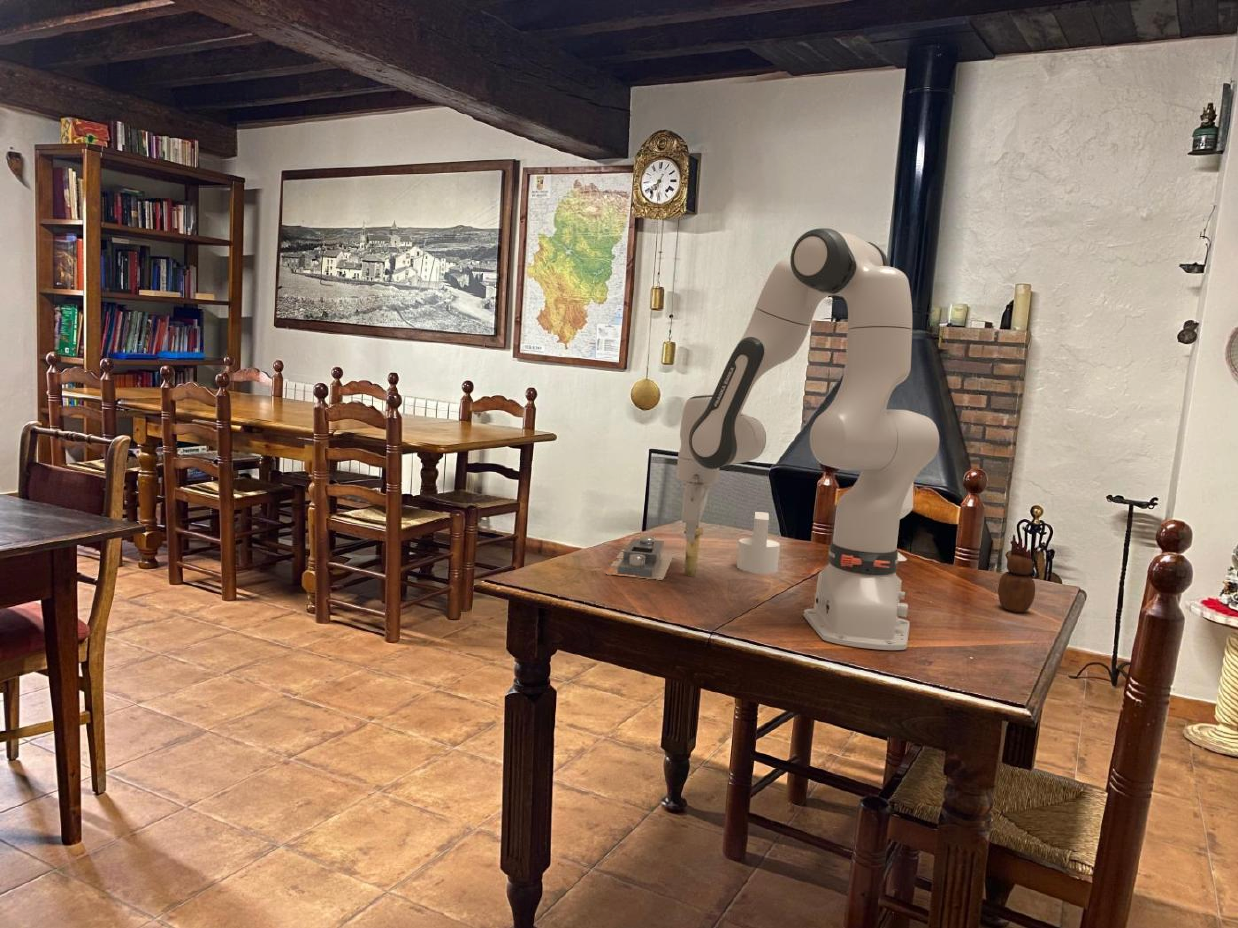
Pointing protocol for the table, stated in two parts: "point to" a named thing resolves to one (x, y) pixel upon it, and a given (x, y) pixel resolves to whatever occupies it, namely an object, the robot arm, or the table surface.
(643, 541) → the two-knob base plate
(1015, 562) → the wooden figurine
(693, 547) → the brass pin
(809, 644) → the table surface
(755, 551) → the cylinder with rectangular tab
